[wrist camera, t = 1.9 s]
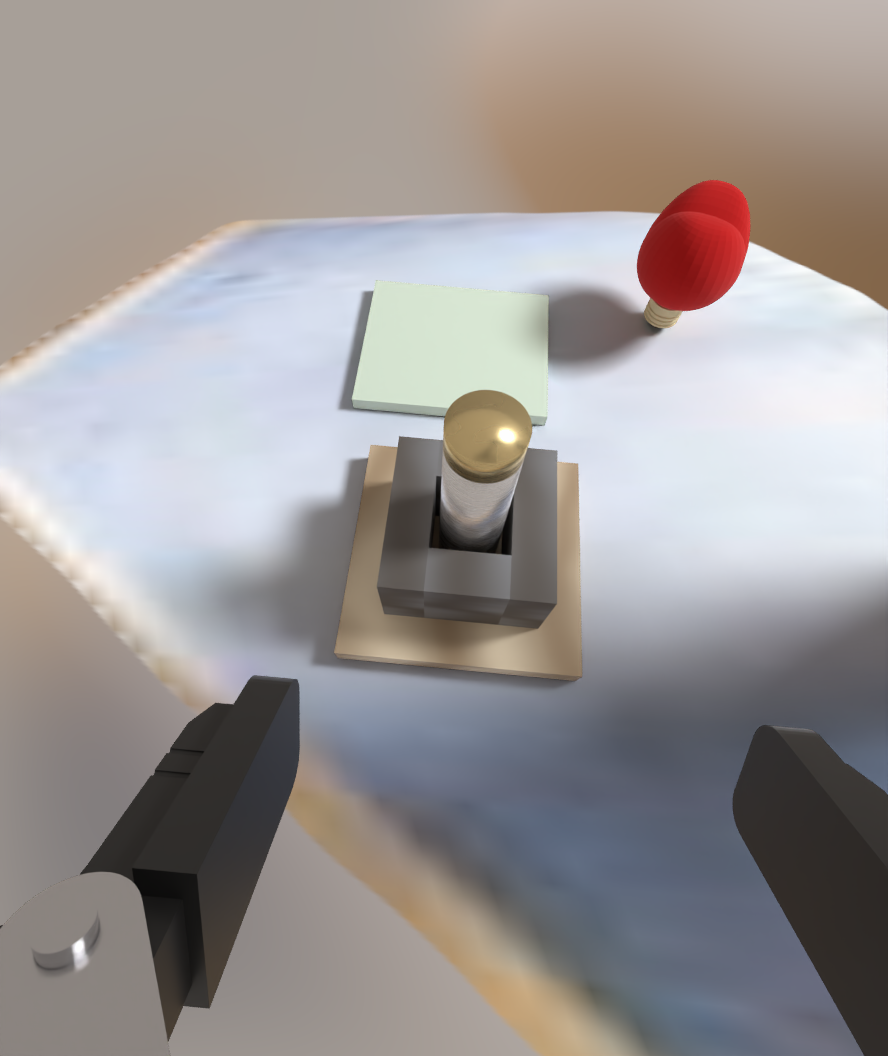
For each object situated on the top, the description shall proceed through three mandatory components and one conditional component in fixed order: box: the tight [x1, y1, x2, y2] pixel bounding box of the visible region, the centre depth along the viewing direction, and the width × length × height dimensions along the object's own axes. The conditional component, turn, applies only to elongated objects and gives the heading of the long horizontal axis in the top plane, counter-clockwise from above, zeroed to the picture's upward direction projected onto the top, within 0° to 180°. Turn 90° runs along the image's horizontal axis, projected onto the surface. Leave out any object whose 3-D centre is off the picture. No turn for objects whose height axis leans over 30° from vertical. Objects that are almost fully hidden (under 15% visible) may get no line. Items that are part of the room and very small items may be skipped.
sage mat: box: [352, 280, 549, 425], centre depth 41 cm, size 14×12×1 cm
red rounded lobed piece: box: [637, 180, 750, 328], centre depth 39 cm, size 9×7×10 cm
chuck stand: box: [334, 436, 582, 681], centre depth 31 cm, size 14×14×6 cm
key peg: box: [438, 390, 532, 554], centre depth 27 cm, size 4×4×13 cm
